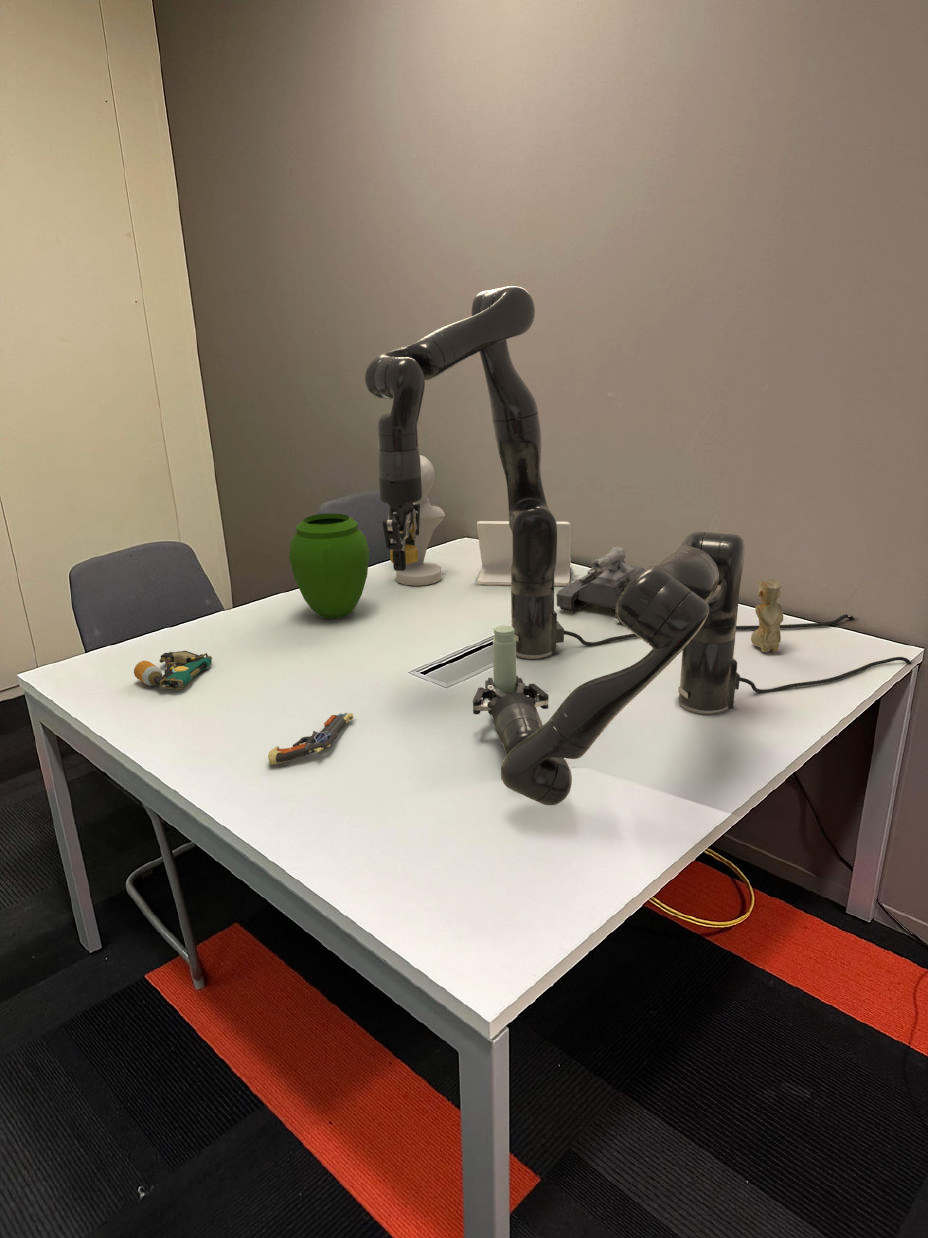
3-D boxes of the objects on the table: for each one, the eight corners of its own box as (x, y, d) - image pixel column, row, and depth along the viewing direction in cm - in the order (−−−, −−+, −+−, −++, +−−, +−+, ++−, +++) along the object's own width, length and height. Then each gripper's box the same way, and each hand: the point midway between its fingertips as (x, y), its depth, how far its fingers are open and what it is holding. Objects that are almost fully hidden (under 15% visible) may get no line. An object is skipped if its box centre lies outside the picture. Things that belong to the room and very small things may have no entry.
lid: (417, 555, 160) (417, 543, 159) (418, 563, 155) (418, 551, 154) (390, 557, 159) (389, 545, 159) (390, 565, 155) (389, 552, 154)
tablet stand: (569, 585, 229) (570, 524, 223) (476, 584, 232) (475, 523, 226) (570, 566, 246) (571, 508, 240) (484, 564, 249) (483, 507, 243)
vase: (389, 608, 216) (383, 514, 208) (339, 633, 201) (330, 533, 192) (330, 596, 226) (322, 506, 218) (278, 619, 211) (267, 523, 202)
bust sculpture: (418, 559, 256) (413, 441, 244) (456, 580, 236) (452, 453, 224) (369, 568, 249) (360, 447, 237) (403, 590, 229) (396, 460, 217)
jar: (513, 713, 160) (512, 623, 154) (519, 723, 157) (518, 631, 150) (492, 716, 160) (490, 625, 153) (497, 726, 156) (496, 634, 149)
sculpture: (772, 641, 189) (778, 577, 184) (784, 654, 182) (792, 587, 177) (746, 642, 189) (752, 578, 183) (758, 655, 182) (764, 588, 177)
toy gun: (262, 754, 143) (318, 752, 141) (303, 710, 161) (353, 708, 159) (266, 769, 144) (321, 767, 142) (306, 724, 162) (356, 721, 160)
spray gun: (177, 659, 191) (231, 671, 185) (120, 684, 176) (176, 698, 171) (176, 641, 190) (230, 653, 184) (118, 665, 175) (174, 678, 169)
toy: (603, 584, 229) (605, 530, 224) (673, 597, 218) (677, 540, 213) (555, 612, 210) (556, 553, 205) (630, 627, 199) (633, 566, 194)
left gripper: (393, 465, 159) (398, 553, 165) (365, 481, 146) (371, 576, 152) (432, 466, 157) (435, 555, 163) (406, 482, 144) (411, 578, 150)
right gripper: (560, 700, 142) (540, 659, 158) (475, 707, 140) (463, 665, 156) (559, 740, 144) (540, 696, 160) (476, 747, 143) (465, 702, 159)
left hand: (404, 565), depth 157 cm, fingers closed on lid, 5 cm apart
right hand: (502, 681), depth 158 cm, fingers closed on jar, 4 cm apart
